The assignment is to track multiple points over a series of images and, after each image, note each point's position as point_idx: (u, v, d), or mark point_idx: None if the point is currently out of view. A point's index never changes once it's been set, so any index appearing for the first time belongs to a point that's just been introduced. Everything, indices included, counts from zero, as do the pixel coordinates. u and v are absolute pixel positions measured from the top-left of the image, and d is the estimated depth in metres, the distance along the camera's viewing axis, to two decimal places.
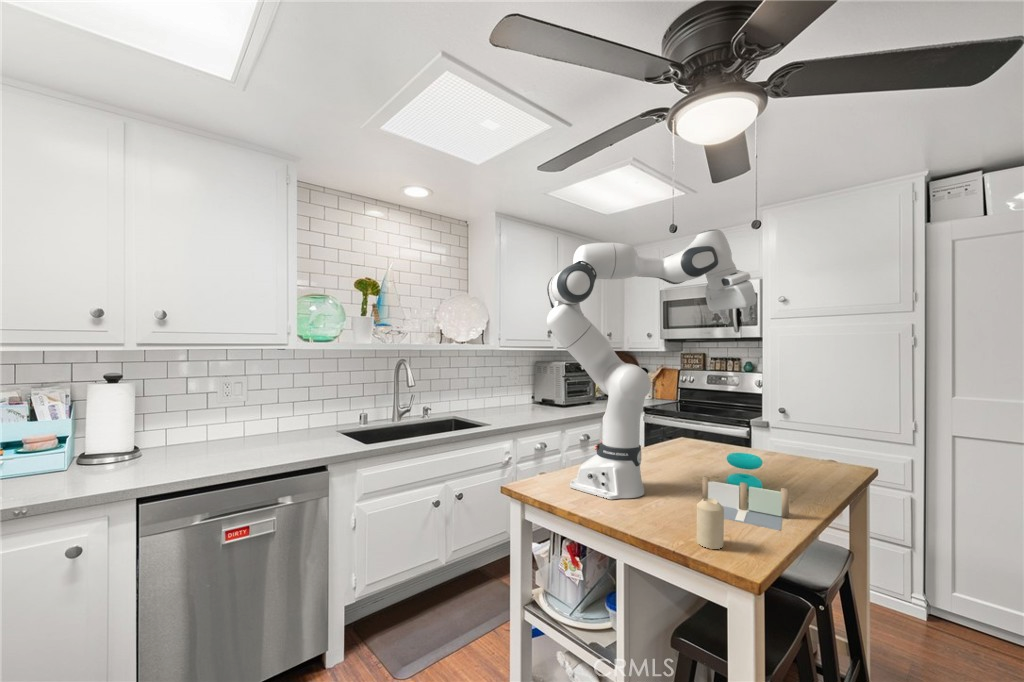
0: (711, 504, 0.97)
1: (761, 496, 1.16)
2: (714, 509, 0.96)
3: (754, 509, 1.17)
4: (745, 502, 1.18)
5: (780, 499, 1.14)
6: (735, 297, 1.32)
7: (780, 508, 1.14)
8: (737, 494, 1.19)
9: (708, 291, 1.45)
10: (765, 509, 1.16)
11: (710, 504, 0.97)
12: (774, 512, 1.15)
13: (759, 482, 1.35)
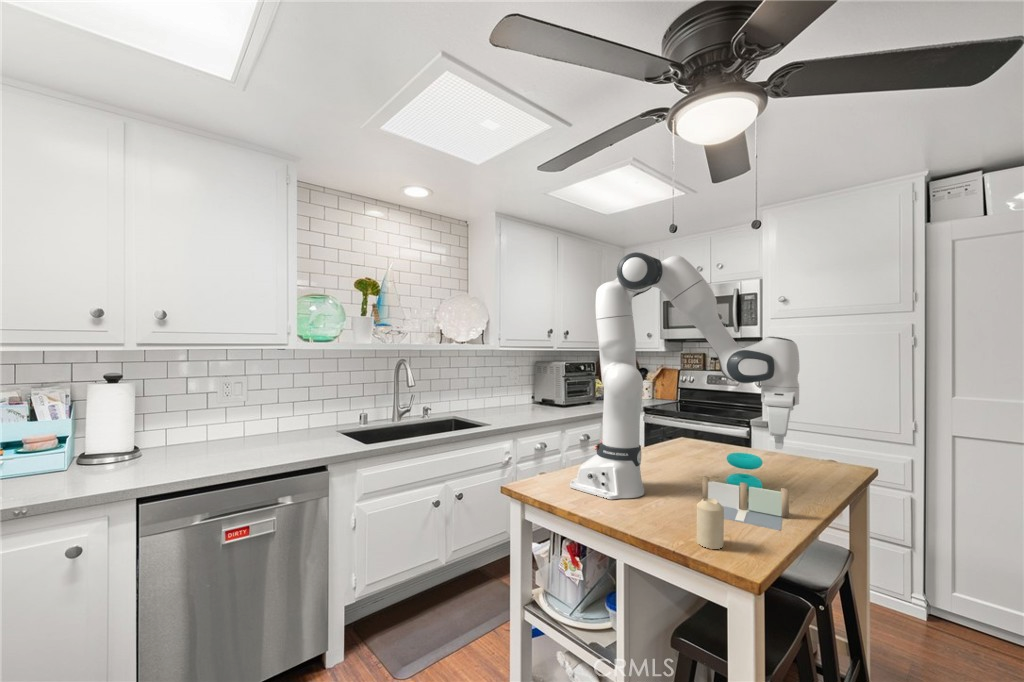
0: (711, 504, 0.97)
1: (761, 496, 1.16)
2: (714, 509, 0.96)
3: (754, 509, 1.17)
4: (745, 502, 1.18)
5: (780, 499, 1.14)
6: None
7: (780, 508, 1.14)
8: (737, 494, 1.19)
9: None
10: (765, 509, 1.16)
11: (710, 504, 0.97)
12: (774, 512, 1.15)
13: (759, 482, 1.35)
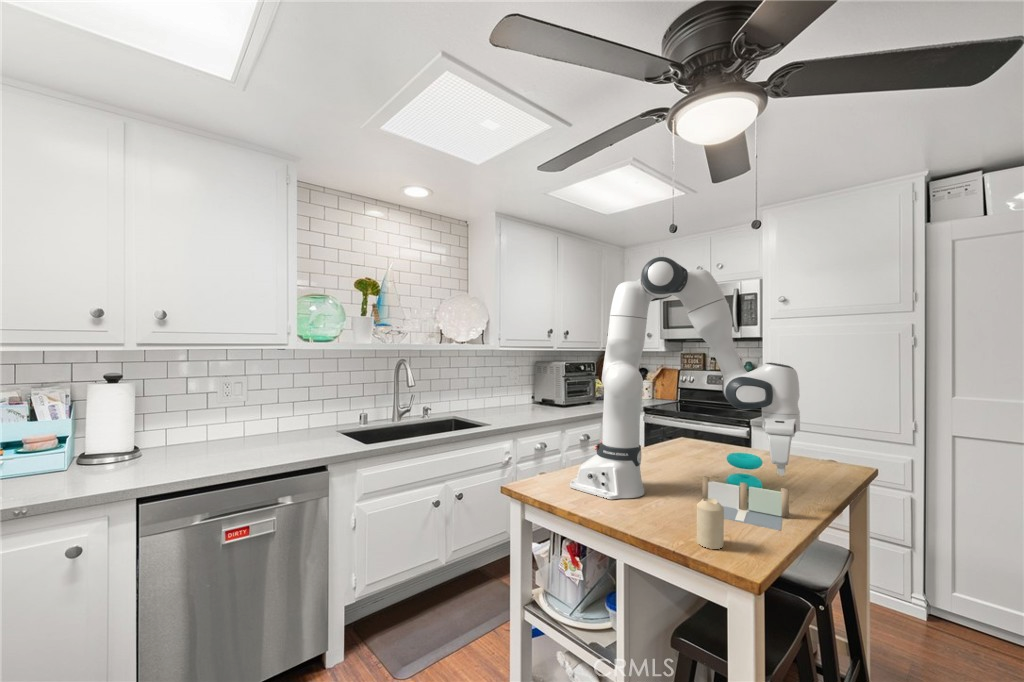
0: (711, 504, 0.97)
1: (761, 496, 1.16)
2: (714, 509, 0.96)
3: (754, 509, 1.17)
4: (745, 502, 1.18)
5: (780, 499, 1.14)
6: None
7: (780, 508, 1.14)
8: (737, 494, 1.19)
9: None
10: (765, 509, 1.16)
11: (710, 504, 0.97)
12: (774, 512, 1.15)
13: (759, 482, 1.35)
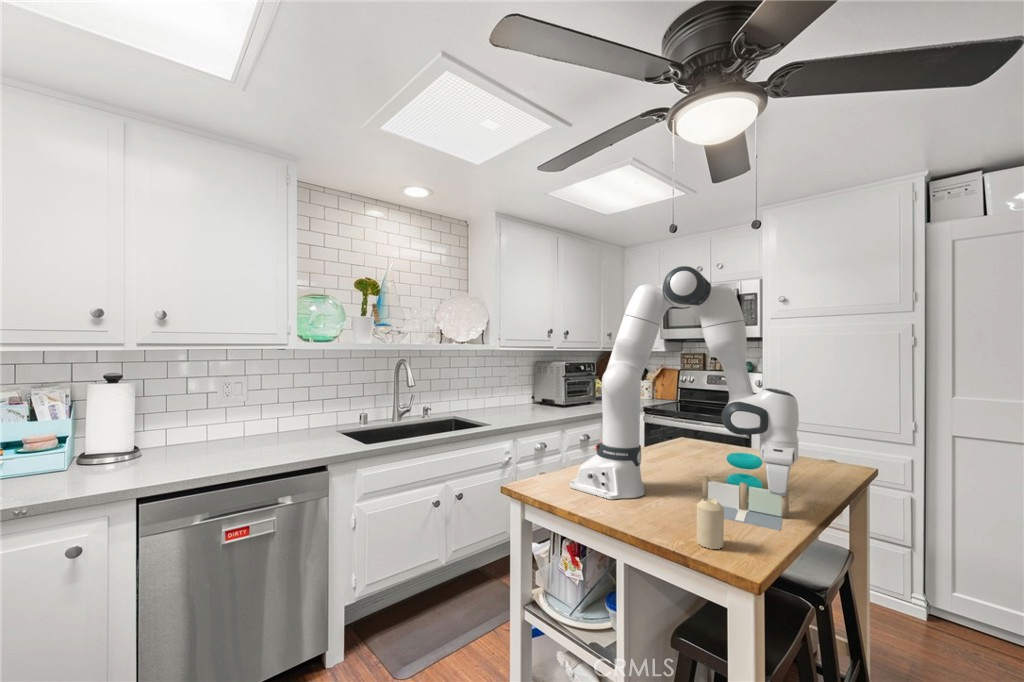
0: (711, 504, 0.97)
1: (761, 496, 1.16)
2: (714, 509, 0.96)
3: (754, 509, 1.17)
4: (745, 502, 1.18)
5: (780, 499, 1.14)
6: None
7: (780, 508, 1.14)
8: (737, 494, 1.19)
9: None
10: (765, 509, 1.16)
11: (710, 504, 0.97)
12: (774, 512, 1.15)
13: (759, 482, 1.35)
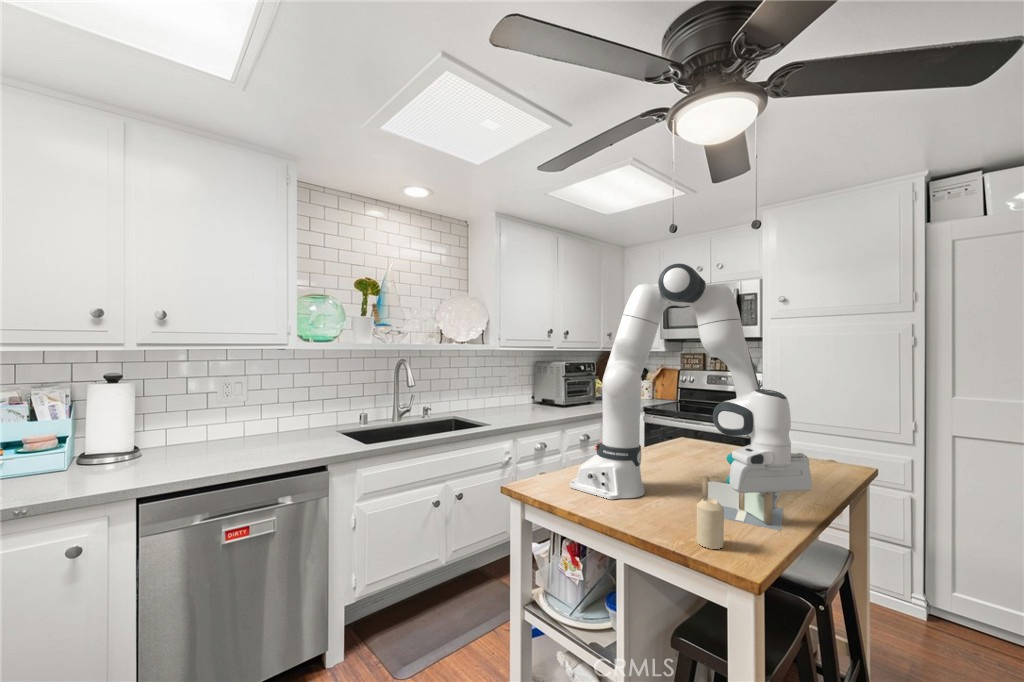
0: (711, 504, 0.97)
1: (751, 498, 1.15)
2: (714, 509, 0.96)
3: (747, 510, 1.16)
4: None
5: (763, 503, 1.11)
6: None
7: (763, 513, 1.11)
8: (737, 494, 1.19)
9: None
10: (754, 512, 1.14)
11: (710, 504, 0.97)
12: (759, 516, 1.12)
13: None
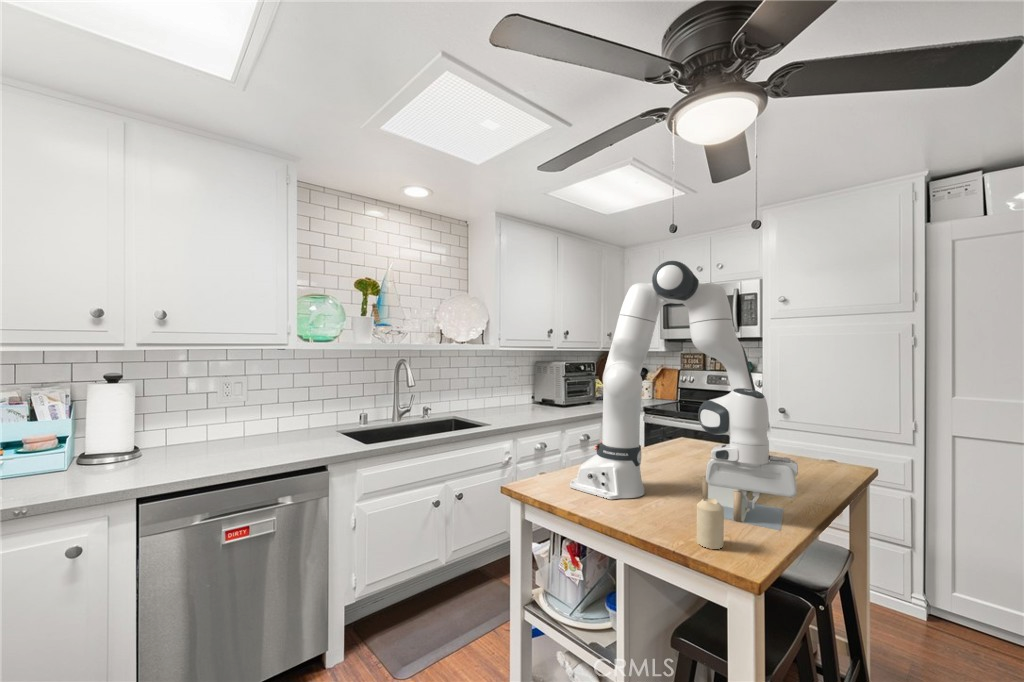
0: (711, 504, 0.97)
1: None
2: (714, 509, 0.96)
3: None
4: None
5: None
6: None
7: None
8: None
9: None
10: None
11: (710, 504, 0.97)
12: None
13: None
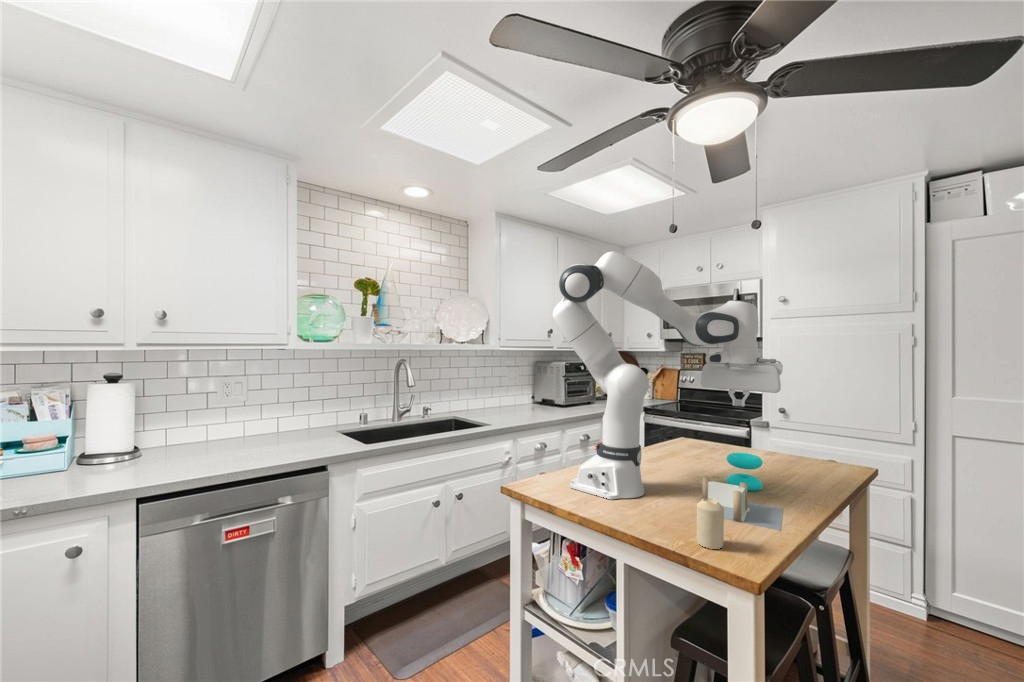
0: (711, 504, 0.97)
1: None
2: (714, 509, 0.96)
3: None
4: (745, 502, 1.18)
5: None
6: None
7: None
8: None
9: None
10: None
11: (710, 504, 0.97)
12: None
13: (759, 482, 1.35)
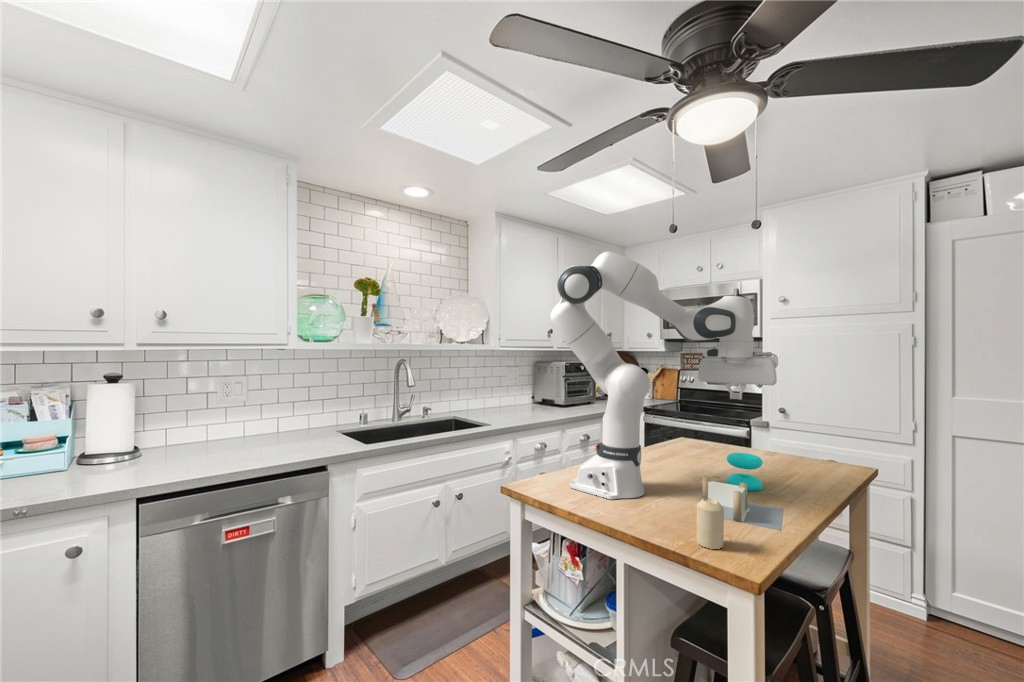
0: (711, 504, 0.97)
1: None
2: (714, 509, 0.96)
3: None
4: (745, 502, 1.18)
5: None
6: None
7: None
8: None
9: None
10: None
11: (710, 504, 0.97)
12: None
13: (759, 482, 1.35)
